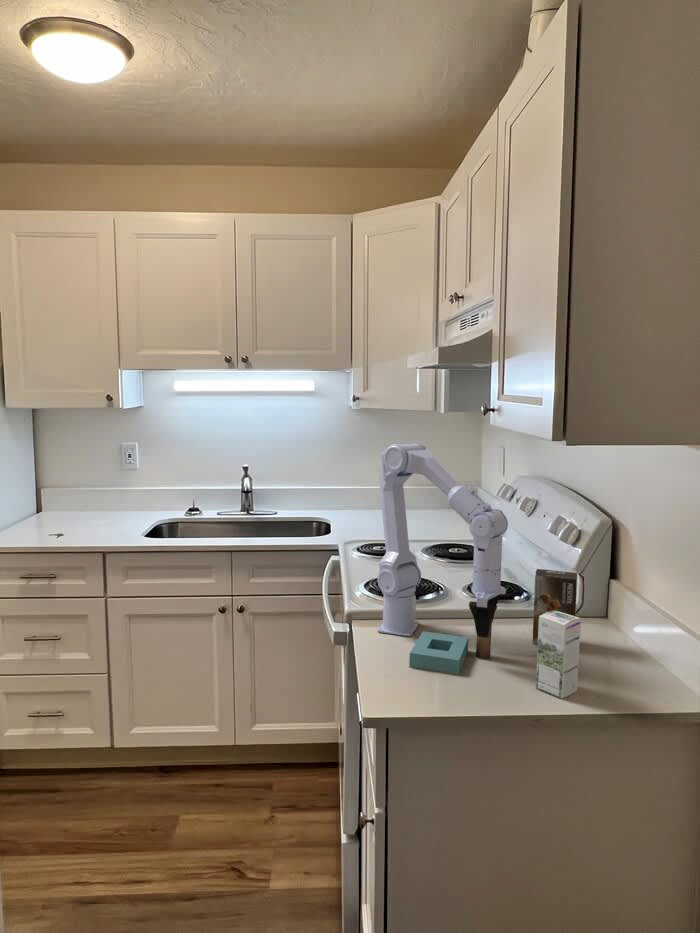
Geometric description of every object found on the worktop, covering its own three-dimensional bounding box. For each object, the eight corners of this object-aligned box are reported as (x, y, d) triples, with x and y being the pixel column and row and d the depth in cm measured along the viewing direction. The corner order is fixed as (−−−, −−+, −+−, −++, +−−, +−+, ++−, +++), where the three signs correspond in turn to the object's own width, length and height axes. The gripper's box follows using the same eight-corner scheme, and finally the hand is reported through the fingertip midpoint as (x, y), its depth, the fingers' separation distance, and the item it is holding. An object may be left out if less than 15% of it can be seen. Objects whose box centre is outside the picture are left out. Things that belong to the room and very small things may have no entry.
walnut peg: (476, 653, 138) (478, 608, 137) (491, 655, 137) (493, 609, 136) (475, 658, 135) (477, 612, 134) (489, 660, 134) (491, 614, 133)
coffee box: (575, 640, 146) (579, 572, 144) (574, 651, 140) (578, 579, 138) (533, 634, 149) (537, 567, 148) (530, 644, 143) (534, 574, 142)
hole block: (422, 644, 142) (423, 631, 142) (467, 650, 139) (468, 637, 139) (409, 667, 130) (409, 652, 130) (458, 674, 127) (459, 660, 126)
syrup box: (578, 691, 121) (582, 616, 119) (561, 700, 117) (565, 623, 115) (551, 680, 125) (555, 608, 123) (534, 689, 121) (538, 614, 120)
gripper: (503, 578, 126) (500, 645, 127) (509, 561, 140) (506, 621, 141) (467, 574, 128) (465, 640, 129) (476, 558, 142) (474, 617, 143)
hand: (484, 630), depth 135 cm, fingers open, 7 cm apart
